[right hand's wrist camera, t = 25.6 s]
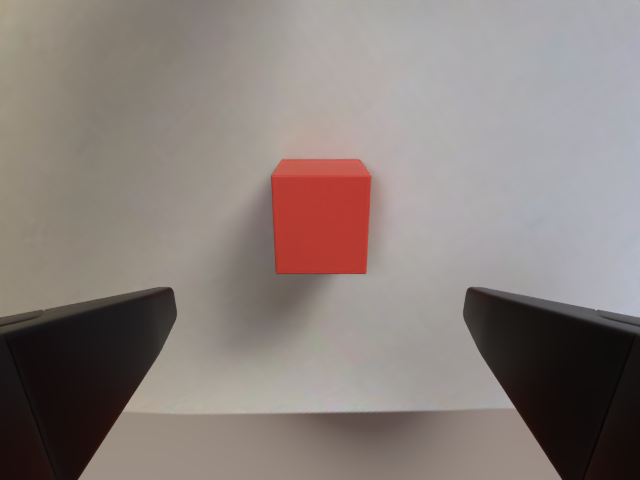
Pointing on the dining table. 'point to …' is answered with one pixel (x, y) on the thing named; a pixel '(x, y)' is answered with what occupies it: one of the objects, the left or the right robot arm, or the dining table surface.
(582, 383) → the right robot arm
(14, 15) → the dining table surface
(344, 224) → the red cube
